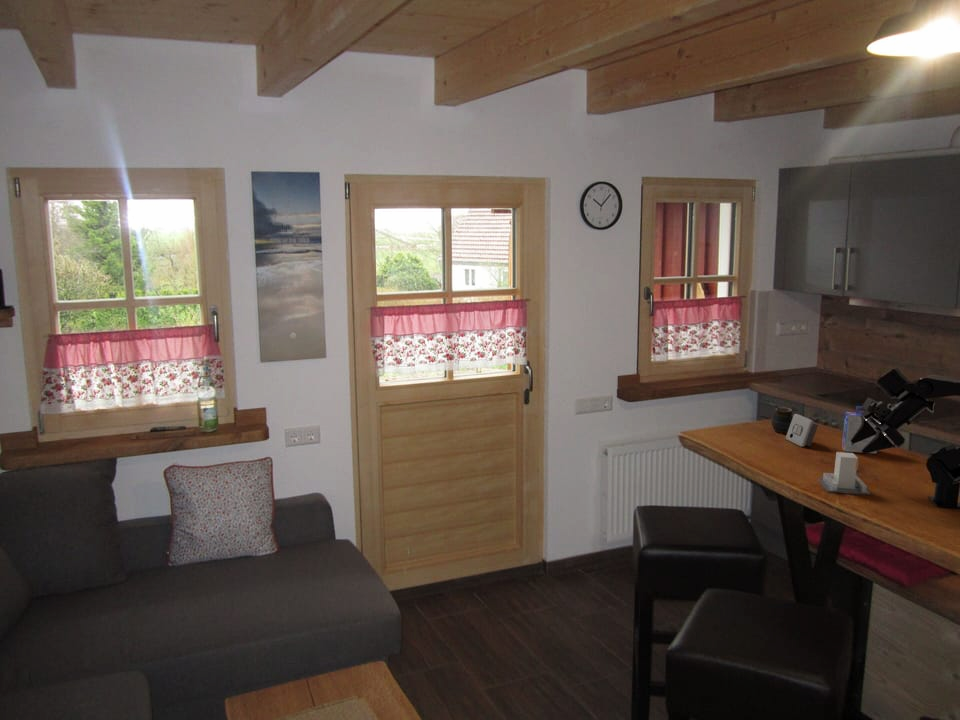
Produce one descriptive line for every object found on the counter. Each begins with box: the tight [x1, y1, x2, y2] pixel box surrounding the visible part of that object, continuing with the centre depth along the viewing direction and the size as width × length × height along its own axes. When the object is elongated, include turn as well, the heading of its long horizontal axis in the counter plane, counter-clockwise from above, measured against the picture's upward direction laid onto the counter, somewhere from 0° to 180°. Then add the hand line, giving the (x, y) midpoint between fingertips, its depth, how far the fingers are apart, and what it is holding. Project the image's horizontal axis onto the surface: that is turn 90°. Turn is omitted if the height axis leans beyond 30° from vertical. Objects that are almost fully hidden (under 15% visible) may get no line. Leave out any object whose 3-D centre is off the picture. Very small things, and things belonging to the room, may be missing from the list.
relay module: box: [833, 451, 860, 489], centre depth 220 cm, size 4×5×9 cm
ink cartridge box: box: [841, 405, 878, 455], centre depth 254 cm, size 10×6×14 cm, turn 79°
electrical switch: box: [785, 413, 819, 448], centre depth 262 cm, size 9×5×9 cm, turn 13°
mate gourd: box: [771, 404, 793, 434], centre depth 275 cm, size 7×8×10 cm
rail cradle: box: [817, 472, 871, 496], centre depth 221 cm, size 10×11×2 cm
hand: (857, 447), depth 219 cm, fingers open, 9 cm apart
